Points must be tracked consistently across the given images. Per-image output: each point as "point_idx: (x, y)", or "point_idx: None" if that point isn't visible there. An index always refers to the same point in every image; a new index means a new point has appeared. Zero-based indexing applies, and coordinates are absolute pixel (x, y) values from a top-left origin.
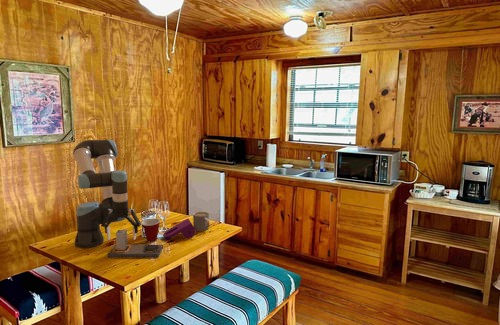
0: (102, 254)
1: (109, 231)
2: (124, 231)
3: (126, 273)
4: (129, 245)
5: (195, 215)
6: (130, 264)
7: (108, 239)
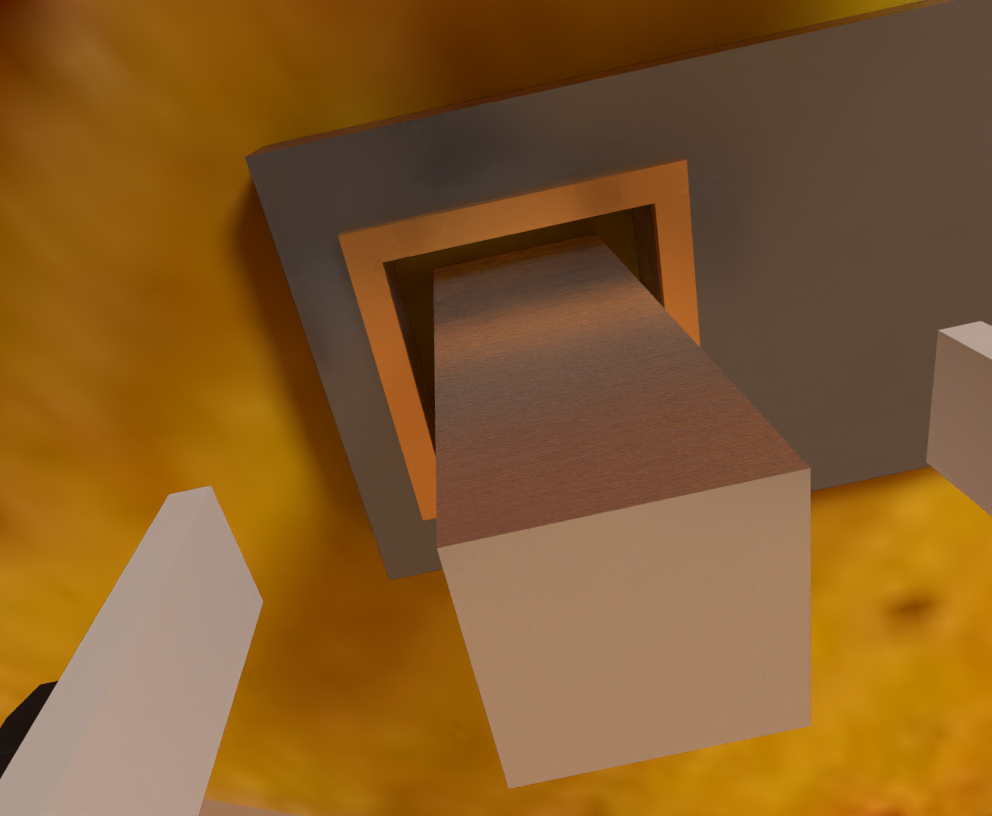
0: (223, 466)
1: (153, 707)
2: (767, 628)
3: (838, 791)
4: (610, 132)
5: None
6: (821, 633)
7: (259, 611)
